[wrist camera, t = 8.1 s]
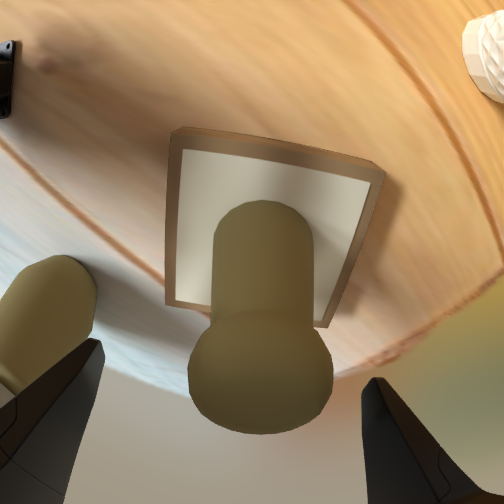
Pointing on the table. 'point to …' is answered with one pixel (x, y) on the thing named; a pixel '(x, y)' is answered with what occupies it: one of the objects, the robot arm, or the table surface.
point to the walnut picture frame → (263, 188)
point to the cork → (261, 325)
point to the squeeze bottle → (43, 320)
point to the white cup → (486, 53)
